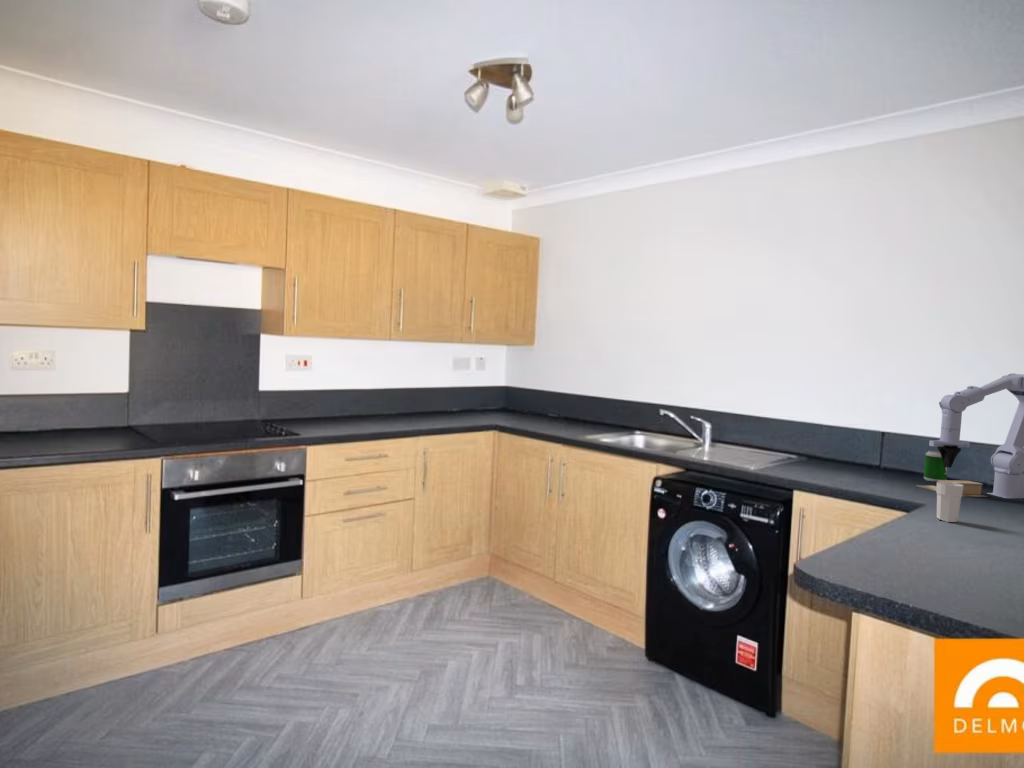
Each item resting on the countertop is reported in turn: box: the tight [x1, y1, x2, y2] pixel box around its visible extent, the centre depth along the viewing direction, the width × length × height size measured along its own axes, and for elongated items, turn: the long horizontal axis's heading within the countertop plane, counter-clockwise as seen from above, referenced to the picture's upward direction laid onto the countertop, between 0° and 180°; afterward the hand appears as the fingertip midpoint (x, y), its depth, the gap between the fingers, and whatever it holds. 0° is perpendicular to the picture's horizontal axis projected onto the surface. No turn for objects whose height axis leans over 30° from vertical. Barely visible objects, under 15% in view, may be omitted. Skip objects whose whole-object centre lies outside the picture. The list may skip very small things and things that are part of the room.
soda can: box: [923, 450, 949, 483], centre depth 256 cm, size 8×8×12 cm
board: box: [915, 484, 989, 498], centre depth 236 cm, size 14×17×1 cm
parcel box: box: [938, 481, 983, 495], centre depth 233 cm, size 12×6×4 cm, turn 99°
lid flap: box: [938, 479, 984, 486], centre depth 233 cm, size 12×6×1 cm, turn 99°
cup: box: [936, 482, 964, 523], centre depth 192 cm, size 7×7×11 cm
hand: (947, 466), depth 232 cm, fingers closed
